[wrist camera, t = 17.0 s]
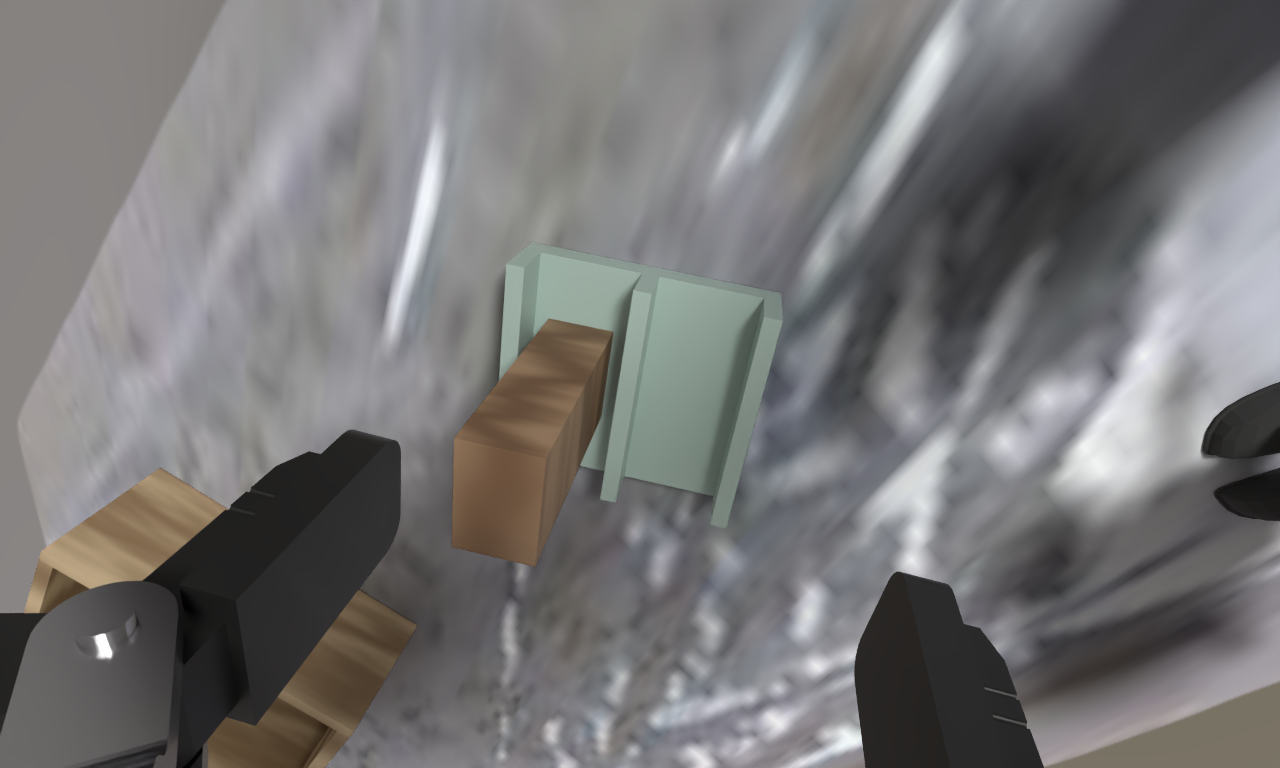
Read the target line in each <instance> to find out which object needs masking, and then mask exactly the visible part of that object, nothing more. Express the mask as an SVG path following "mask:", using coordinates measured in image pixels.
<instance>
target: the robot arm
mask: <svg viewBox="0 0 1280 768" xmlns="http://www.w3.org/2000/svg"><path fill="white" fill-rule="evenodd" d="M400 496H401V450H400V446H399V443H398V442H397V441H395V440H391V439H387V438H383V437H380V436H376V435H372V434H368V433H364V432H360V431H356V430H348V431H346V432H345V433H344V434H342V435H341V436H340V437H339V438H338V439H337V440H336V441H335V442H334V443H333V444H331V445H330V446H329V447H328V448H327V449H326V450H325V451H324V452H323V453H322V454H317V453H313V452H307V453H305V454H302V455H300V456H298V457H296V458H293V459H291V460H289V461H287V462H284V463H282V464H280V465H278V466H276V467H275V468H273V469H272V470H271V471H270V472H269V473H268V474H266V475H265V476H264V477H263V478H262V479H261V480H259V481H258V482H257V483H256V484H255V485H254V486H252V487H251V491H250V492H245V493H244V494H243V495H242V496H241V497H240V498H238V499H237V500H236V501H235V502H234V503H233V504H231V507H230V509H229V510H224V511H223V512H222V513H221V514H220V515H219V516H217V517H216V518H215V519H214V520H213V521H212V522H210V523H209V524H208V525H207V526H206V527H205V528H203V529H202V530H201V531H200V532H199V533H198V534H196V535H195V536H194V537H193V538H192V539H191V540H189V541H188V542H187V543H186V544H185V545H184V546H182V547H181V548H180V549H179V550H178V551H177V552H175V553H174V554H173V555H172V556H171V557H170V558H168V559H167V560H166V561H165V562H164V563H163V564H161V565H160V566H159V567H158V568H157V569H156V570H154V571H153V572H152V573H151V574H150V575H149V576H147V577H146V578H145V579H144V580H142V581H122V582H115V583H110V584H106V585H101V586H98V587H95V588H92V589H89V590H87V591H84V592H82V593H79V594H77V595H75V596H73V597H71V598H70V599H68V600H66V601H64V602H63V603H61V604H60V605H58V606H57V607H55V608H54V609H52V610H51V611H50V612H49V613H0V768H208V752H209V750H208V741H207V740H208V739H209V738H210V736H211V735H212V734H213V733H214V731H215V730H216V729H217V728H218V726H219V725H220V724H221V723H222V721H223V720H224V719H225V718H226V717H227V718H230V719H234V720H237V721H240V722H244V723H247V724H251V725H254V726H256V725H257V723H258V722H259V721H260V719H261V718H262V717H263V715H264V714H265V713H266V711H267V710H268V709H269V707H270V706H271V705H272V703H273V702H274V701H275V700H276V698H277V697H278V696H279V694H280V693H281V692H282V690H283V689H284V688H285V686H286V685H287V684H288V682H289V681H290V680H291V678H292V677H293V676H294V674H295V673H296V672H297V670H298V669H299V668H300V666H301V665H302V664H303V662H304V661H305V660H306V658H307V657H308V656H309V655H310V653H311V652H312V651H313V649H314V648H315V647H316V645H317V644H318V643H319V641H320V640H321V639H322V637H323V636H324V635H325V633H326V632H327V631H328V629H329V628H330V627H331V625H332V624H333V623H334V621H335V620H336V619H337V617H338V616H339V615H340V613H341V612H342V611H343V610H344V608H345V607H346V606H347V604H348V603H349V602H350V600H351V599H352V598H353V596H354V595H355V594H356V592H357V591H358V590H359V588H360V587H361V586H362V584H363V583H364V582H365V580H366V579H367V578H368V576H369V575H370V574H371V572H372V571H373V570H374V568H375V567H376V566H377V564H378V563H379V562H380V561H381V559H382V558H383V557H384V555H385V554H386V552H387V551H388V549H389V548H390V546H391V544H392V542H393V540H394V537H395V535H396V532H397V529H398V525H399V521H400ZM854 675H855V687H856V695H857V703H858V711H859V719H860V727H861V735H862V743H863V751H864V759H865V767H866V768H1044V766H1043V764H1042V761H1041V758H1040V756H1039V753H1038V750H1037V747H1036V745H1035V742H1034V739H1033V737H1032V734H1031V731H1030V729H1027V728H1026V724H1027V720H1026V718H1025V715H1024V712H1023V709H1022V707H1021V704H1020V701H1019V700H1016V695H1017V693H1016V690H1015V688H1014V685H1013V682H1012V680H1011V677H1010V674H1009V671H1008V669H1007V666H1006V663H1005V661H1004V659H1003V658H1002V657H1001V655H1000V654H999V653H998V651H997V650H996V649H995V647H994V646H993V645H992V644H991V642H990V641H989V640H988V638H987V637H986V636H985V634H984V633H983V632H982V631H981V629H980V628H977V627H973V626H969V625H966V624H963V621H962V618H961V614H960V611H959V608H958V605H957V602H956V599H955V596H954V593H953V590H952V589H951V587H950V586H949V585H948V584H945V583H941V582H937V581H933V580H929V579H926V578H922V577H918V576H914V575H910V574H906V573H902V572H896V573H894V574H893V575H892V576H891V578H890V579H889V581H888V583H887V585H886V587H885V589H884V591H883V594H882V596H881V598H880V600H879V602H878V604H877V606H876V608H875V610H874V612H873V614H872V616H871V618H870V620H869V622H868V625H867V627H866V629H865V631H864V633H863V635H862V637H861V639H860V642H859V645H858V649H857V654H856V659H855V671H854Z"/></svg>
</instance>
